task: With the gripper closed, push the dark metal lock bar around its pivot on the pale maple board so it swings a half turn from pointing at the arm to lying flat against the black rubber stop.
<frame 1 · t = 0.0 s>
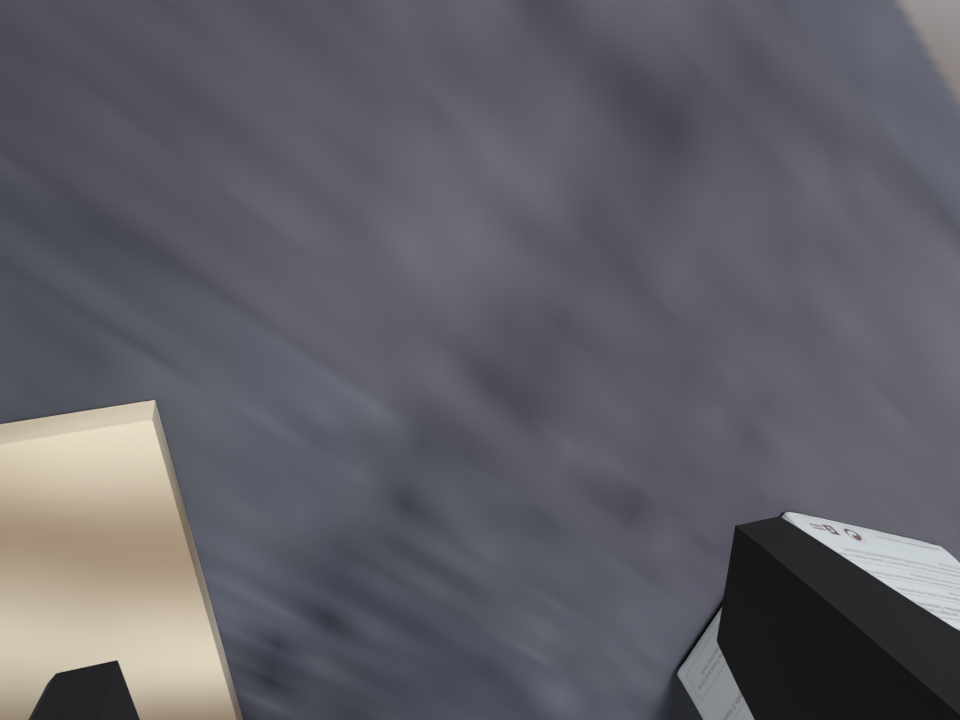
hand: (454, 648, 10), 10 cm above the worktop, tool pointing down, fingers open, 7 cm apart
supplement box 2: (803, 600, 28), on the worktop
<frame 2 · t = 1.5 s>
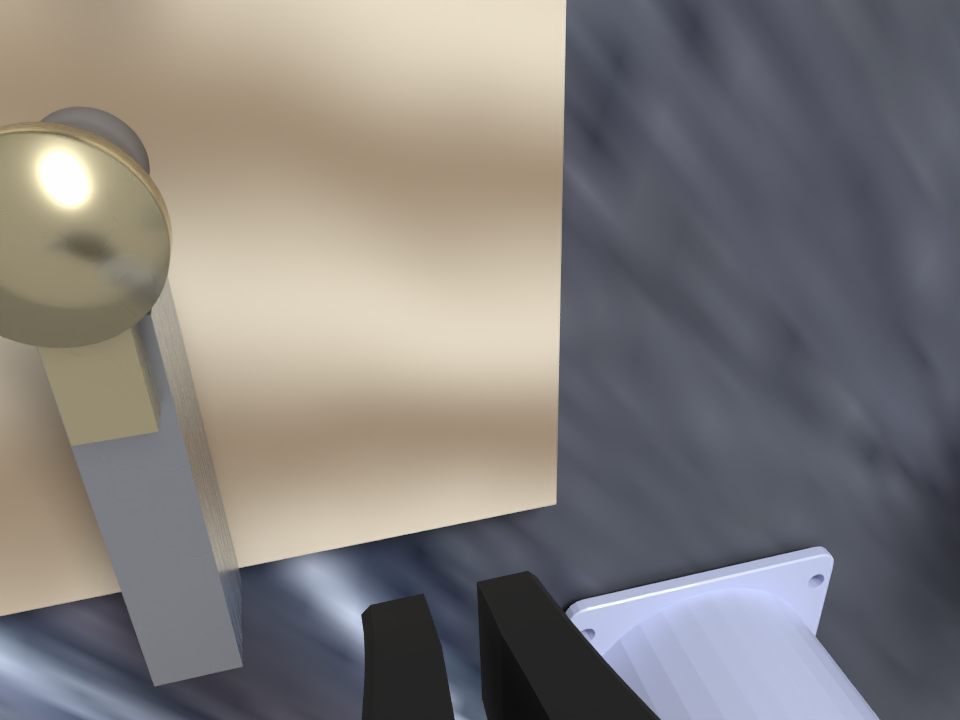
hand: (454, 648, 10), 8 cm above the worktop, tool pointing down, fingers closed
lock bar: (135, 426, 14), point 3 cm above the worktop, hinge at 180.0°
jamb board: (188, 141, 14), on the worktop
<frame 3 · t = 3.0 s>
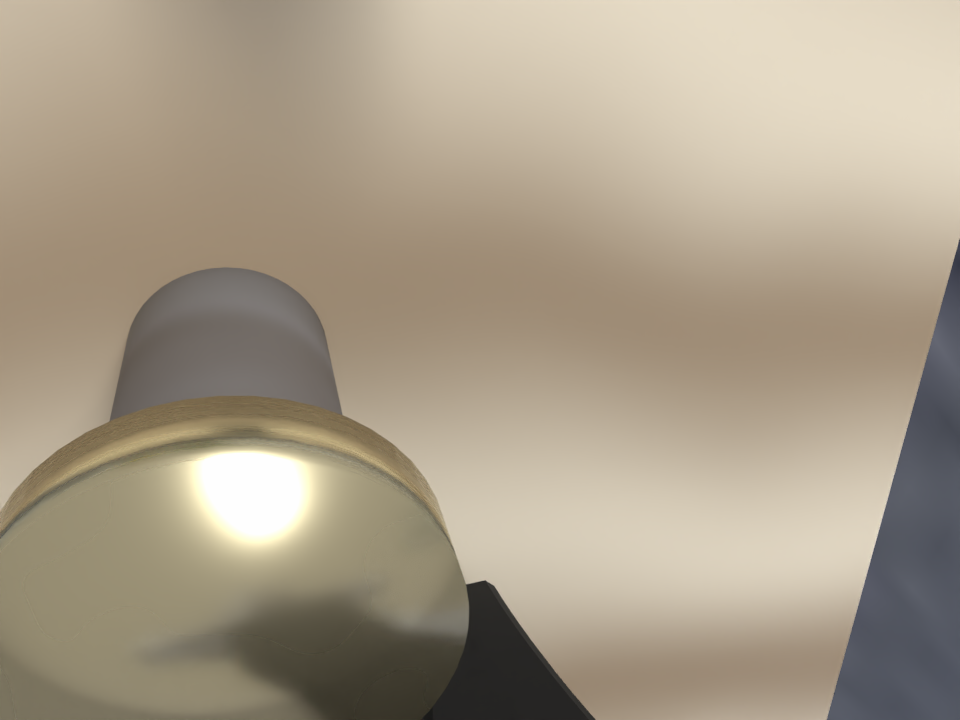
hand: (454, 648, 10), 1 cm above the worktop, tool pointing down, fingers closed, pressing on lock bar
jamb board: (376, 297, 9), on the worktop
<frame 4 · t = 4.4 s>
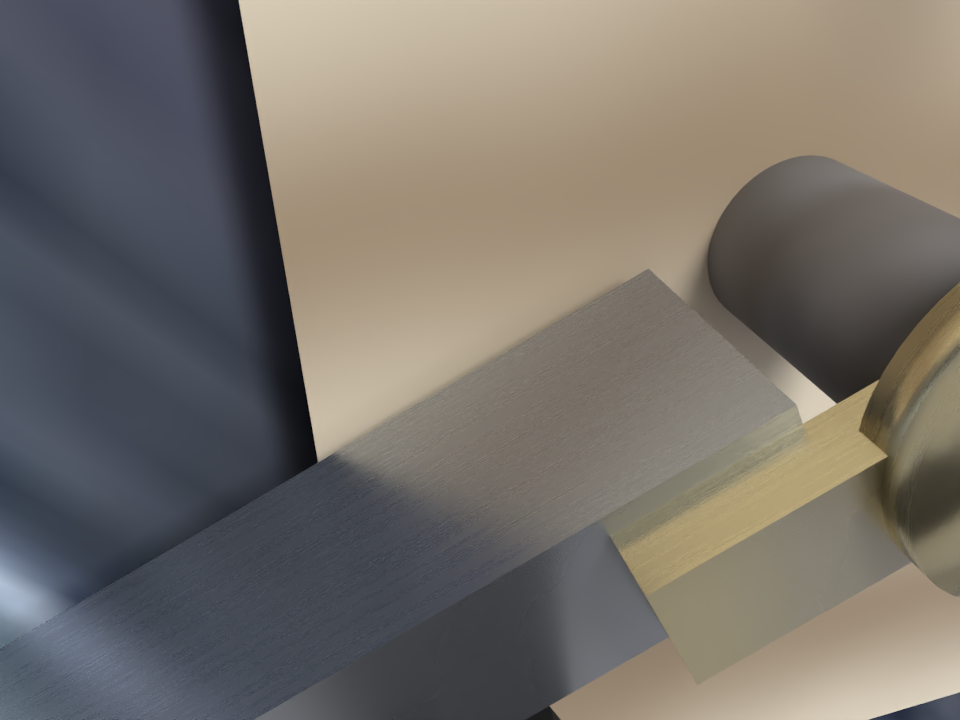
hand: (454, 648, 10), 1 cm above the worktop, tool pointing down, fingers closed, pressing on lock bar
lock bar: (526, 560, 7), point 3 cm above the worktop, hinge at 114.5°, touching gripper
jamb board: (863, 197, 9), on the worktop
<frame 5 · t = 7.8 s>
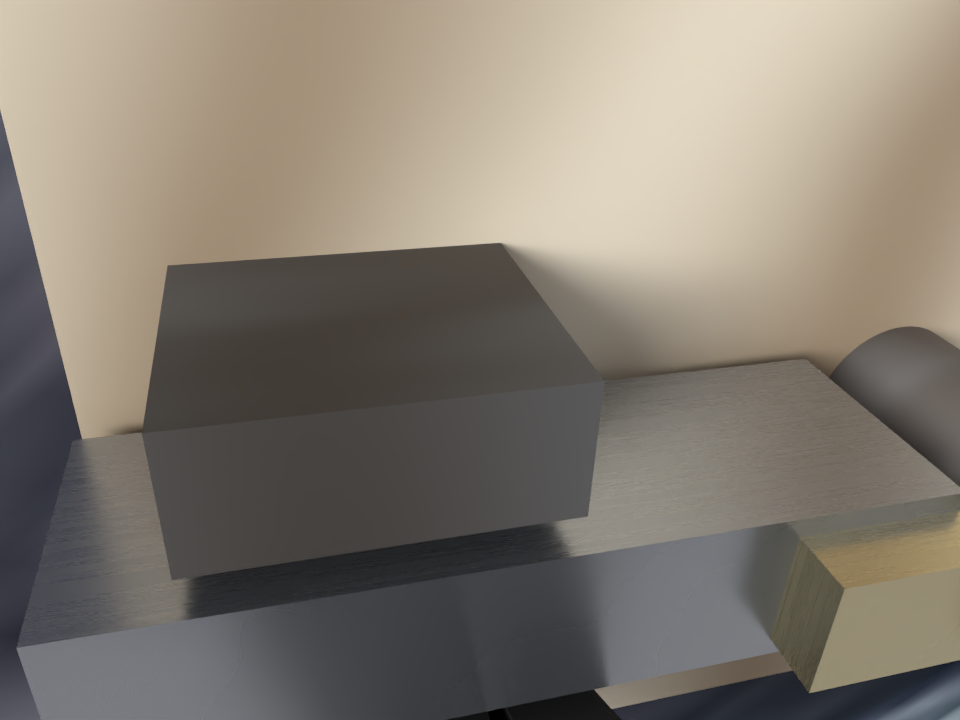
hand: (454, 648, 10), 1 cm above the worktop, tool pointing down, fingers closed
lock bar: (672, 544, 8), point 3 cm above the worktop, hinge at -0.1°
jamb board: (873, 253, 10), on the worktop
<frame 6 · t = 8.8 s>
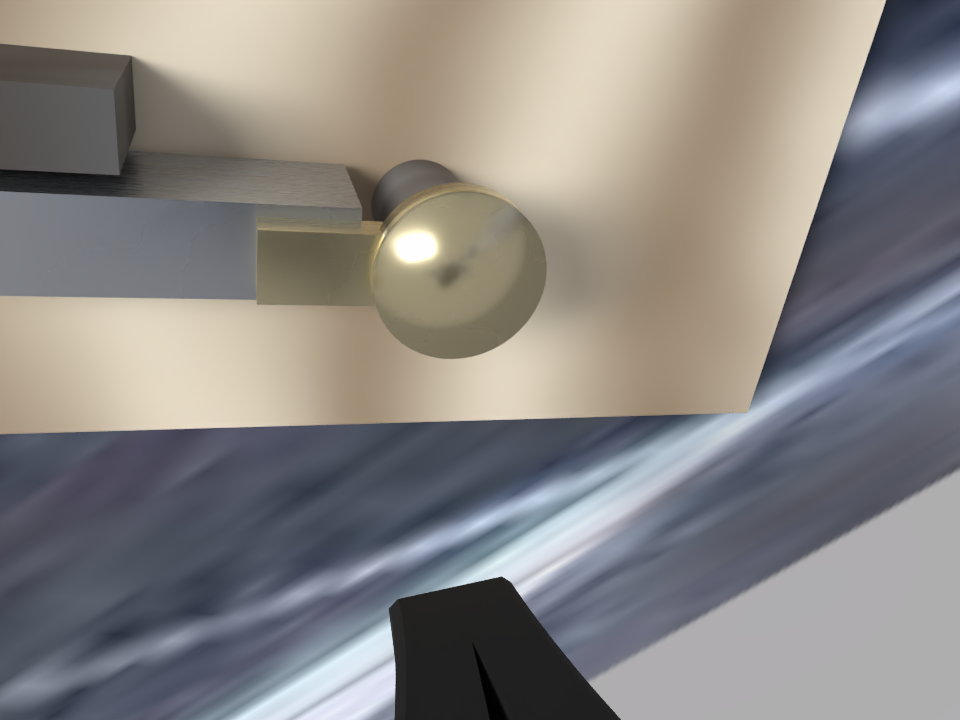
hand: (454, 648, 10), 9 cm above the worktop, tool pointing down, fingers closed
lock bar: (209, 234, 13), point 3 cm above the worktop, hinge at -0.1°
jamb board: (417, 117, 16), on the worktop
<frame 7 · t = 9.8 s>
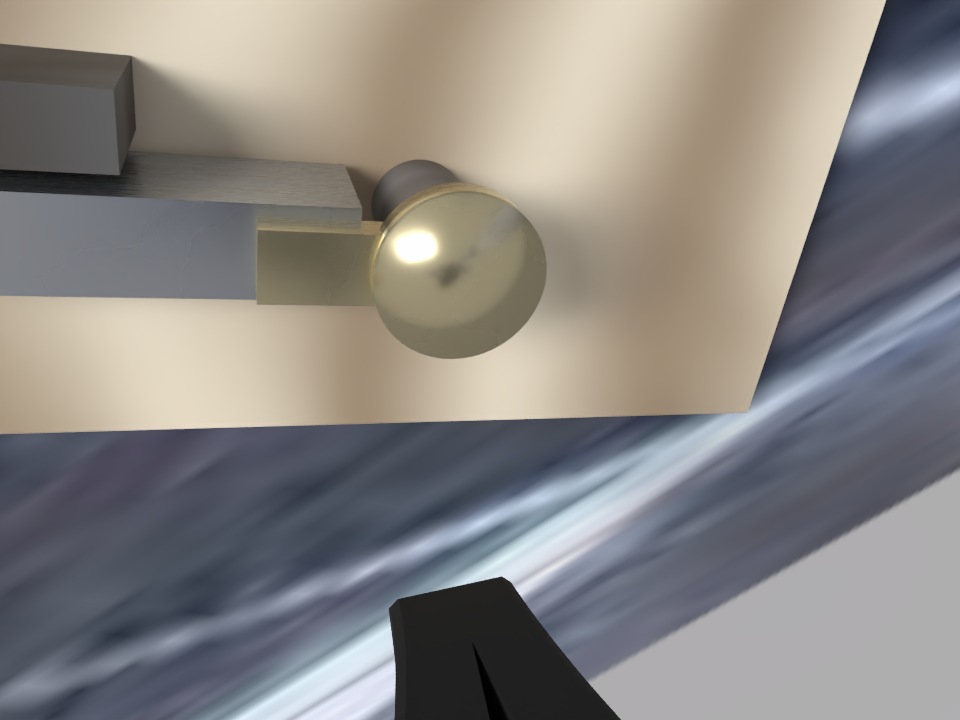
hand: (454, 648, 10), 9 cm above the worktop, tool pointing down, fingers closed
lock bar: (209, 234, 13), point 3 cm above the worktop, hinge at -0.1°
jamb board: (417, 117, 16), on the worktop
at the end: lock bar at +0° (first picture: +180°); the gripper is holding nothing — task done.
